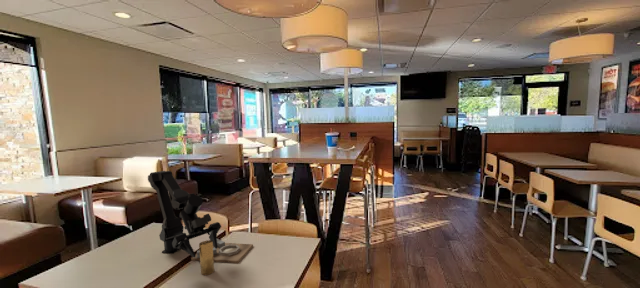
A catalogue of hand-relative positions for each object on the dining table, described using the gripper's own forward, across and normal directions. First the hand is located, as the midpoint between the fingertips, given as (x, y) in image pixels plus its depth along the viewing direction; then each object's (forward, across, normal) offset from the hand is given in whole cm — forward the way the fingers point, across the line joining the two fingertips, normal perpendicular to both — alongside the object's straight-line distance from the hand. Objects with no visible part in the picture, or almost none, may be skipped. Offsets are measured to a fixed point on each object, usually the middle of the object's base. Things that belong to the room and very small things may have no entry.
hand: (206, 252), depth 112 cm
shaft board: (-1, +13, +12) cm, 18 cm away
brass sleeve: (+6, 0, +6) cm, 8 cm away
